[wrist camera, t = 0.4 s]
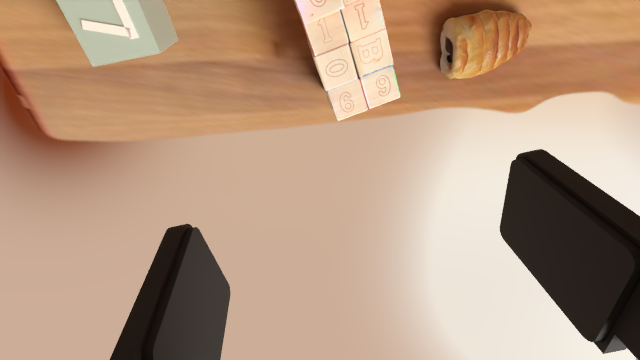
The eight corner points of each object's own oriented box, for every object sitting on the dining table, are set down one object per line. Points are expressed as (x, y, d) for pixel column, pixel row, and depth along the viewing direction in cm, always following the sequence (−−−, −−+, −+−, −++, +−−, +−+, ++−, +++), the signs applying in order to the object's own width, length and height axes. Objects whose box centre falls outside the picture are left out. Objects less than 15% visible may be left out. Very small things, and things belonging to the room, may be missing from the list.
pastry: (524, -5, 34) (549, -2, 31) (516, 60, 38) (538, 69, 34) (436, 19, 34) (452, 24, 31) (437, 80, 38) (451, 91, 35)
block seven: (88, -17, 29) (47, -13, 24) (151, -30, 29) (124, -29, 24) (121, 51, 33) (92, 67, 28) (179, 40, 33) (160, 53, 28)
